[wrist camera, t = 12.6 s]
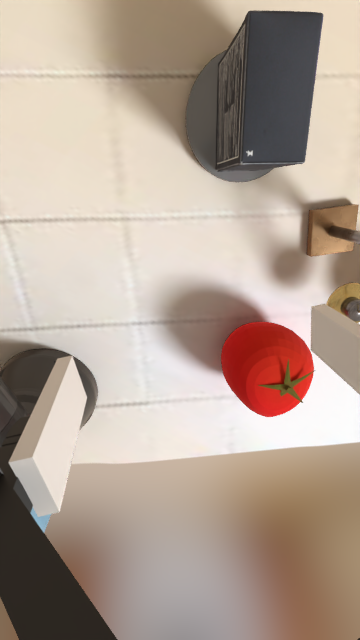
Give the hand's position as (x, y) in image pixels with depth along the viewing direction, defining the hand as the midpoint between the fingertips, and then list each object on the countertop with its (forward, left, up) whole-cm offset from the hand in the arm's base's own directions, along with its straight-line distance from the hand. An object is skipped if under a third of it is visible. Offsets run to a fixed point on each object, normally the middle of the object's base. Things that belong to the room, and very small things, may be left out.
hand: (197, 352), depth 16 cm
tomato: (+11, -17, -27) cm, 34 cm away
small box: (+10, +14, -26) cm, 31 cm away
